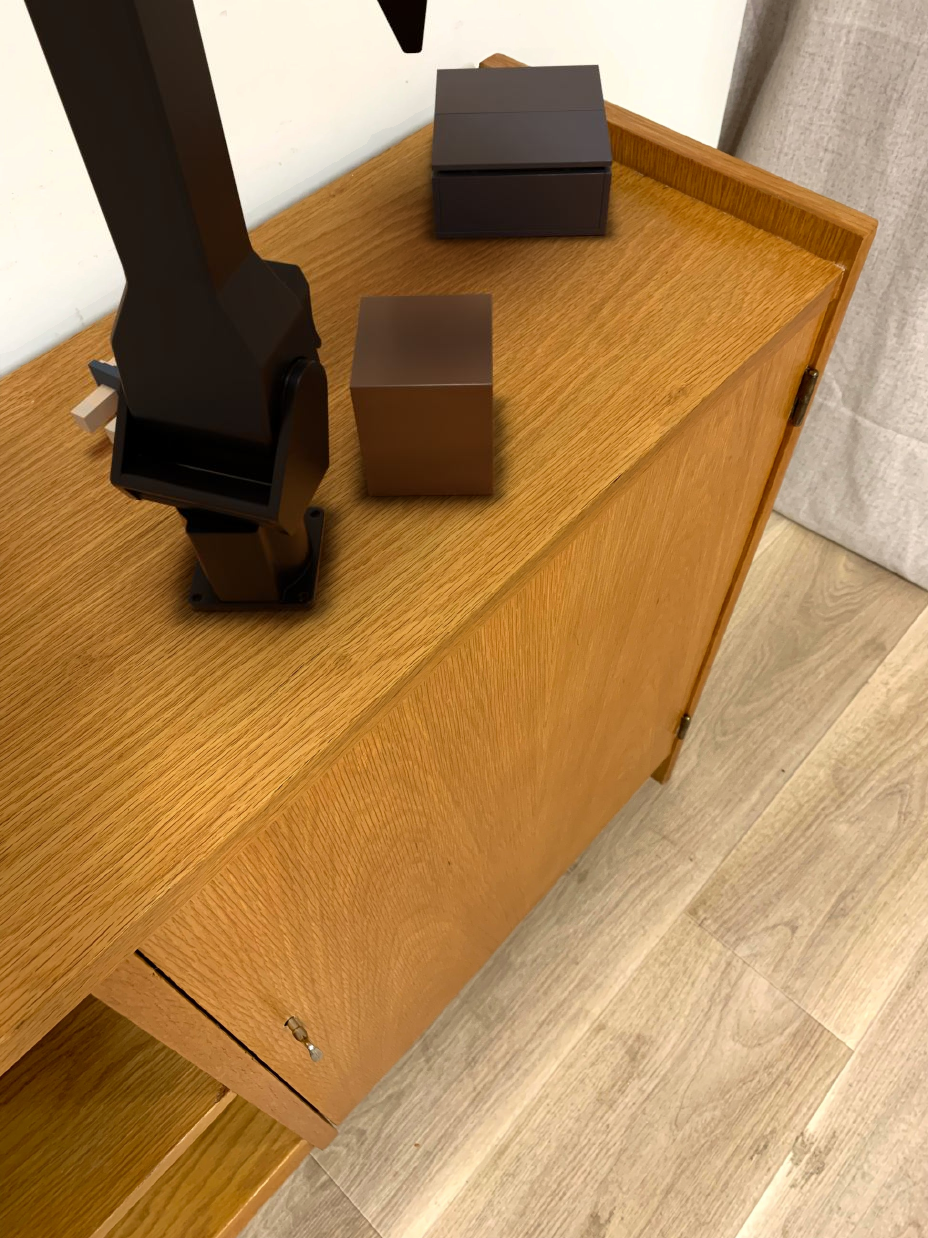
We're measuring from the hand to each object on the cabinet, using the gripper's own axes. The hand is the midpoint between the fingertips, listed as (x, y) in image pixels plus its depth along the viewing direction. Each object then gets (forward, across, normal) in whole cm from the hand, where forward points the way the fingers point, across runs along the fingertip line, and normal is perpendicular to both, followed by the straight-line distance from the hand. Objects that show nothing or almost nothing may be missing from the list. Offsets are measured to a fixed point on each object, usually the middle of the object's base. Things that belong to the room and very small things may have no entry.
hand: (412, 50), depth 51 cm
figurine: (+13, -13, +14) cm, 23 cm away
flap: (+8, +5, -6) cm, 11 cm away
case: (+13, +8, -6) cm, 17 cm away
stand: (+13, -19, -1) cm, 23 cm away
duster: (+12, +5, -6) cm, 15 cm away
